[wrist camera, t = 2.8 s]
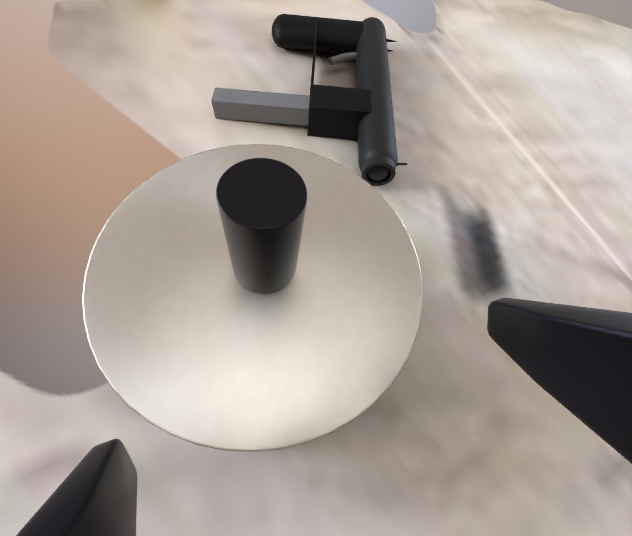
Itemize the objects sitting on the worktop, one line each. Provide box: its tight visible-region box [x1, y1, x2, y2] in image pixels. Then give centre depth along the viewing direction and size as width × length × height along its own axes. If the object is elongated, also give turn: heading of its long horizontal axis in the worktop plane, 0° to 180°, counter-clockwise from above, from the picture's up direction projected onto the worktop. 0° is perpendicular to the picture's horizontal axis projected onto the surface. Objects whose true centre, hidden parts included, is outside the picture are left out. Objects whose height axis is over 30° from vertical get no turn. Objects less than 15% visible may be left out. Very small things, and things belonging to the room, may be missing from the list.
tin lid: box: [82, 144, 423, 452], centre depth 13 cm, size 15×15×6 cm
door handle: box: [212, 14, 407, 186], centre depth 29 cm, size 3×20×16 cm
